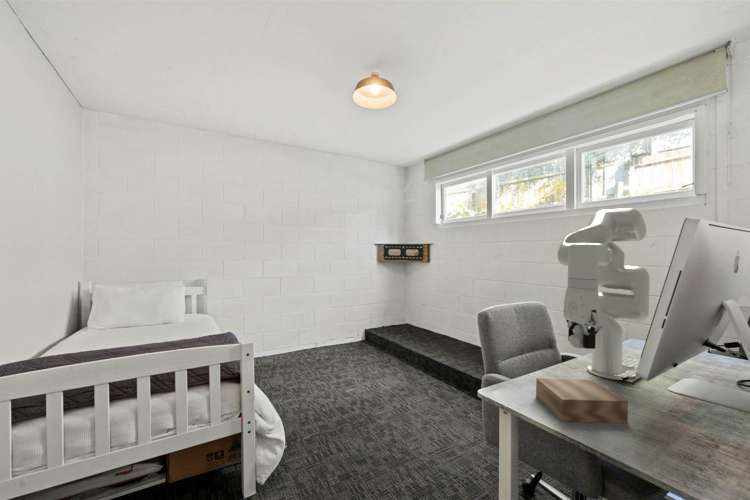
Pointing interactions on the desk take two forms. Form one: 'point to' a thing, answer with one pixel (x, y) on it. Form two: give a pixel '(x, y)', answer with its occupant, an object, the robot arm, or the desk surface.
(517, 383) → the desk surface
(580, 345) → the grey lumpy piece
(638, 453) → the desk surface
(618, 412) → the walnut block
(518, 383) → the desk surface
